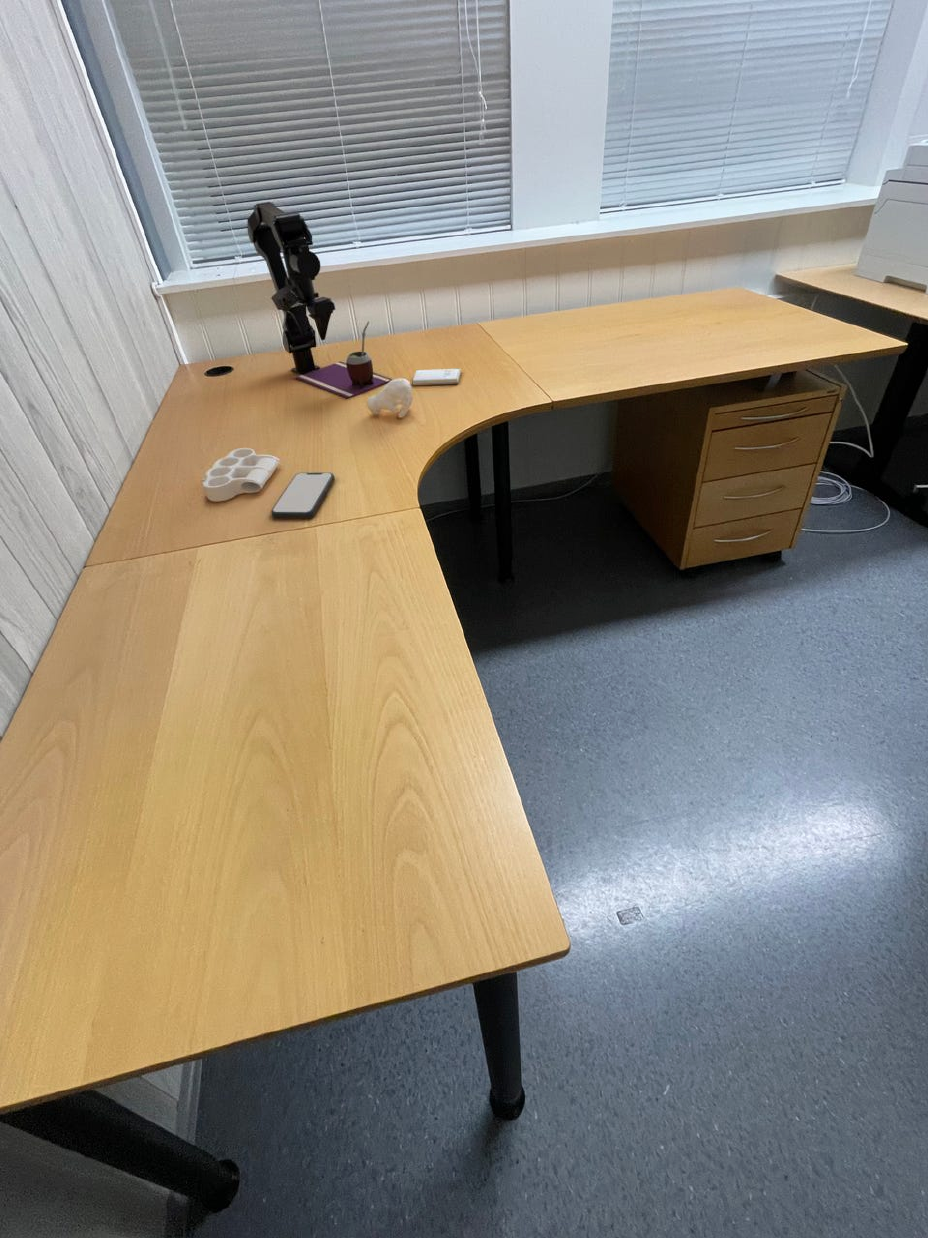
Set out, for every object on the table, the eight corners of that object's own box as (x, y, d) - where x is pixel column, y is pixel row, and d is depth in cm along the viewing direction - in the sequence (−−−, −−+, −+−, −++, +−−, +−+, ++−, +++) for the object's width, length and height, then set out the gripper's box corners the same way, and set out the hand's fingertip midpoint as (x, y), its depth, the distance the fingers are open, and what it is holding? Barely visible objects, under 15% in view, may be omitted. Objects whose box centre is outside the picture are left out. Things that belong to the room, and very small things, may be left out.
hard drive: (417, 375, 172) (460, 373, 171) (413, 385, 166) (457, 384, 165) (417, 369, 171) (460, 367, 170) (412, 379, 165) (457, 378, 164)
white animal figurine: (405, 383, 144) (358, 389, 146) (413, 417, 149) (367, 422, 152) (410, 373, 148) (364, 379, 151) (418, 407, 154) (373, 412, 156)
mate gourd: (348, 389, 166) (337, 332, 157) (353, 379, 172) (342, 323, 162) (375, 387, 166) (365, 330, 156) (378, 377, 172) (369, 321, 162)
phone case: (313, 520, 117) (337, 478, 129) (311, 513, 116) (335, 471, 127) (270, 519, 118) (298, 478, 130) (268, 512, 117) (296, 471, 129)
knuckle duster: (257, 501, 124) (191, 502, 126) (286, 460, 137) (226, 461, 139) (252, 487, 121) (185, 487, 123) (282, 446, 135) (221, 447, 137)
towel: (296, 378, 177) (295, 376, 177) (340, 362, 185) (340, 361, 185) (347, 398, 163) (346, 397, 162) (392, 380, 170) (392, 378, 170)
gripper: (252, 275, 154) (270, 339, 164) (291, 283, 143) (307, 351, 154) (289, 265, 160) (304, 328, 170) (329, 272, 149) (342, 339, 159)
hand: (313, 336), depth 163 cm, fingers open, 9 cm apart
